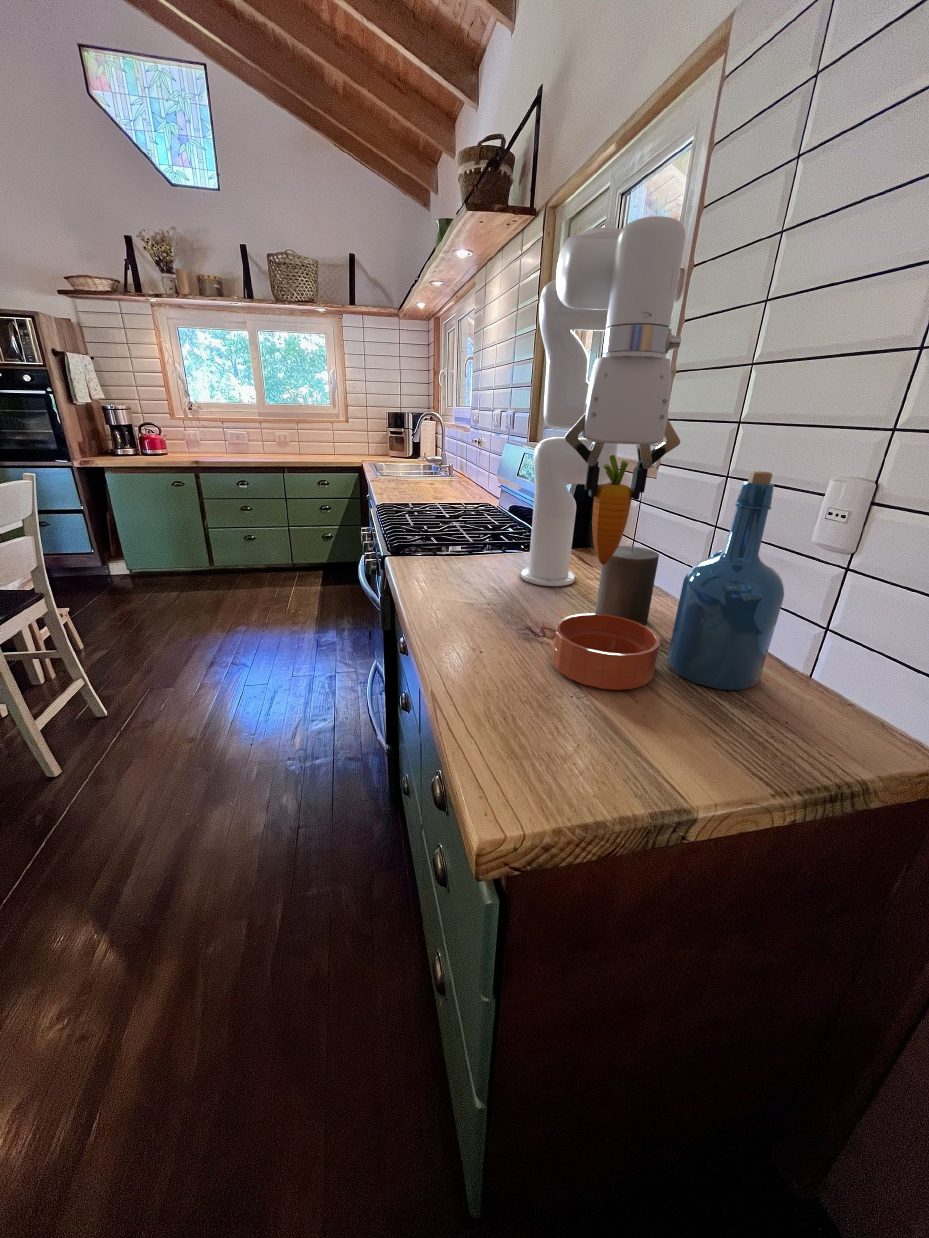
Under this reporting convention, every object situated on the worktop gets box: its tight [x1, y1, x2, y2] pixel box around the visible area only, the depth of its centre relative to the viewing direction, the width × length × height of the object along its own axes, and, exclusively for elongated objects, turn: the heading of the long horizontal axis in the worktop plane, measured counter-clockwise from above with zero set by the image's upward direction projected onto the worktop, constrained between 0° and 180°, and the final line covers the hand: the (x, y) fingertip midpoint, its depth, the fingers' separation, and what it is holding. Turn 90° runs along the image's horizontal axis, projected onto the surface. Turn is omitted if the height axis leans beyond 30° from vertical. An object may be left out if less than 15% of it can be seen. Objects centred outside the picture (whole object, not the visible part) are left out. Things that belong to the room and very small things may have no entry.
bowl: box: [551, 613, 661, 691], centre depth 76 cm, size 15×15×6 cm
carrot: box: [591, 455, 633, 566], centre depth 69 cm, size 5×5×15 cm
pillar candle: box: [594, 544, 660, 627], centre depth 92 cm, size 10×10×15 cm
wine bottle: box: [667, 470, 785, 691], centre depth 72 cm, size 14×13×30 cm
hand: (613, 495), depth 68 cm, fingers closed on carrot, 5 cm apart
